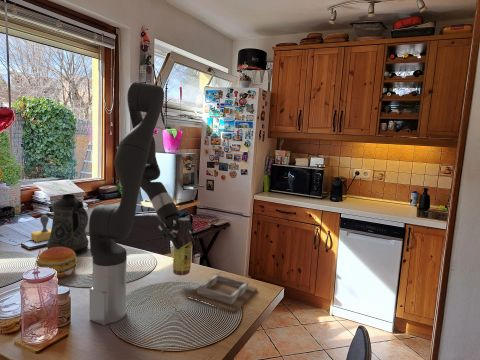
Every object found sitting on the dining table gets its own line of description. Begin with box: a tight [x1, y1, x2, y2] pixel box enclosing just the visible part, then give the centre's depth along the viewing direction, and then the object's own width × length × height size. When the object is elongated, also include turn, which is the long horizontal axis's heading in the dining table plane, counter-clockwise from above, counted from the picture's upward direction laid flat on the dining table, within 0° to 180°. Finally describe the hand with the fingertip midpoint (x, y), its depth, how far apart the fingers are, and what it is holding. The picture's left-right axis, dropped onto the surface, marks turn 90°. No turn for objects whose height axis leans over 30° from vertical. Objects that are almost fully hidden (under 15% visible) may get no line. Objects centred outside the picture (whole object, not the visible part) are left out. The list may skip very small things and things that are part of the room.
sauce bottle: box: [172, 217, 193, 277], centre depth 119 cm, size 6×6×20 cm
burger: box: [36, 247, 78, 279], centre depth 124 cm, size 14×14×10 cm
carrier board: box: [186, 273, 258, 314], centre depth 116 cm, size 18×18×4 cm
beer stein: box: [46, 193, 90, 255], centre depth 147 cm, size 16×19×25 cm
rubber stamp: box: [30, 214, 52, 243], centre depth 160 cm, size 10×6×12 cm, turn 146°
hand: (186, 246), depth 118 cm, fingers closed on sauce bottle, 6 cm apart
